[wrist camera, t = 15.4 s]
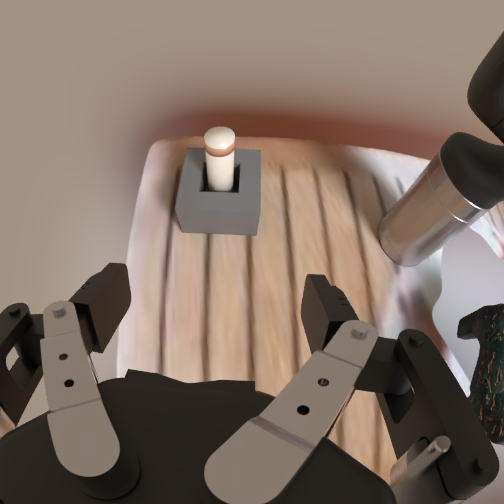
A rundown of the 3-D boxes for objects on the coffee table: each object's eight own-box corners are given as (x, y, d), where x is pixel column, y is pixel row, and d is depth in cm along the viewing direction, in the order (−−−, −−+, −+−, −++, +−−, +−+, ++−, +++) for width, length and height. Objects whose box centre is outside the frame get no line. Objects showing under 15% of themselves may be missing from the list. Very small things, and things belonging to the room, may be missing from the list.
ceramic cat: (449, 438, 27) (548, 445, 9) (422, 436, 28) (529, 450, 9) (474, 321, 35) (565, 283, 17) (451, 311, 35) (547, 266, 17)
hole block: (191, 174, 42) (187, 147, 36) (257, 177, 42) (260, 150, 37) (182, 232, 38) (174, 209, 32) (256, 235, 38) (260, 212, 33)
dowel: (225, 186, 40) (225, 122, 29) (237, 202, 39) (241, 139, 28) (205, 195, 39) (198, 133, 28) (216, 212, 38) (213, 151, 27)
